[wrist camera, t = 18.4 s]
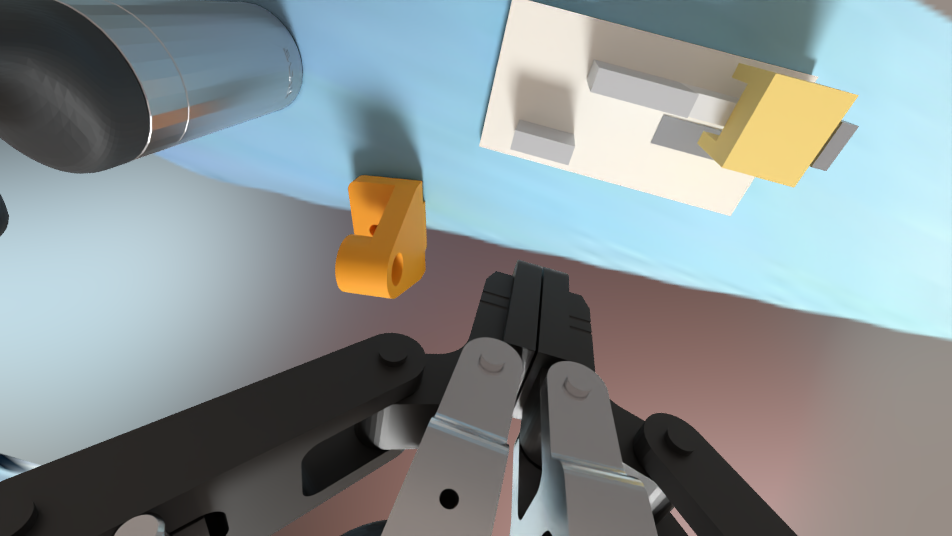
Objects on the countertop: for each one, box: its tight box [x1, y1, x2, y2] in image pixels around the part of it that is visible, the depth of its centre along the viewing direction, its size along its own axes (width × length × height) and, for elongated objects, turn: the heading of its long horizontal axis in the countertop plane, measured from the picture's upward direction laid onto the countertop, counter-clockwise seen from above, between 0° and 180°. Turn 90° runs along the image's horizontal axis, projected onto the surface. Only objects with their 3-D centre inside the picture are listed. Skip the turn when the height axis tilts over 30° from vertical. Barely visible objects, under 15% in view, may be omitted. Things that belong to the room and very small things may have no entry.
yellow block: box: [697, 63, 858, 187], centre depth 29 cm, size 5×6×6 cm
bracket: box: [335, 175, 427, 299], centre depth 41 cm, size 11×7×12 cm
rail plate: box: [479, 0, 859, 216], centre depth 32 cm, size 24×12×8 cm, turn 78°
